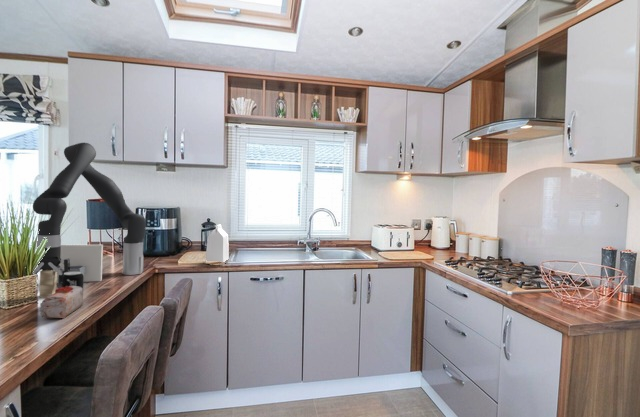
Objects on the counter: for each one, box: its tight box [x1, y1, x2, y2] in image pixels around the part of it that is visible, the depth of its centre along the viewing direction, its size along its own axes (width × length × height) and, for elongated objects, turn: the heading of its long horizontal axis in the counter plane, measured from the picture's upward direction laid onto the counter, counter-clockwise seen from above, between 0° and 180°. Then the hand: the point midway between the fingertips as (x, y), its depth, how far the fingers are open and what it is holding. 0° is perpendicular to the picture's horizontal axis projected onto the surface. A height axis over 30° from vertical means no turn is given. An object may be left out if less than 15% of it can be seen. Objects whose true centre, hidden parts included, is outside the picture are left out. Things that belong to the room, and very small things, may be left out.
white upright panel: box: [57, 244, 104, 284], centre depth 141 cm, size 18×11×18 cm, turn 111°
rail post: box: [39, 269, 58, 298], centre depth 125 cm, size 4×4×11 cm
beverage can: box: [61, 271, 84, 289], centre depth 119 cm, size 7×7×12 cm
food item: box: [39, 286, 84, 319], centre depth 108 cm, size 14×8×10 cm, turn 14°
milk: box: [205, 224, 230, 262], centre depth 199 cm, size 12×12×26 cm
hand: (47, 283), depth 125 cm, fingers open, 8 cm apart
